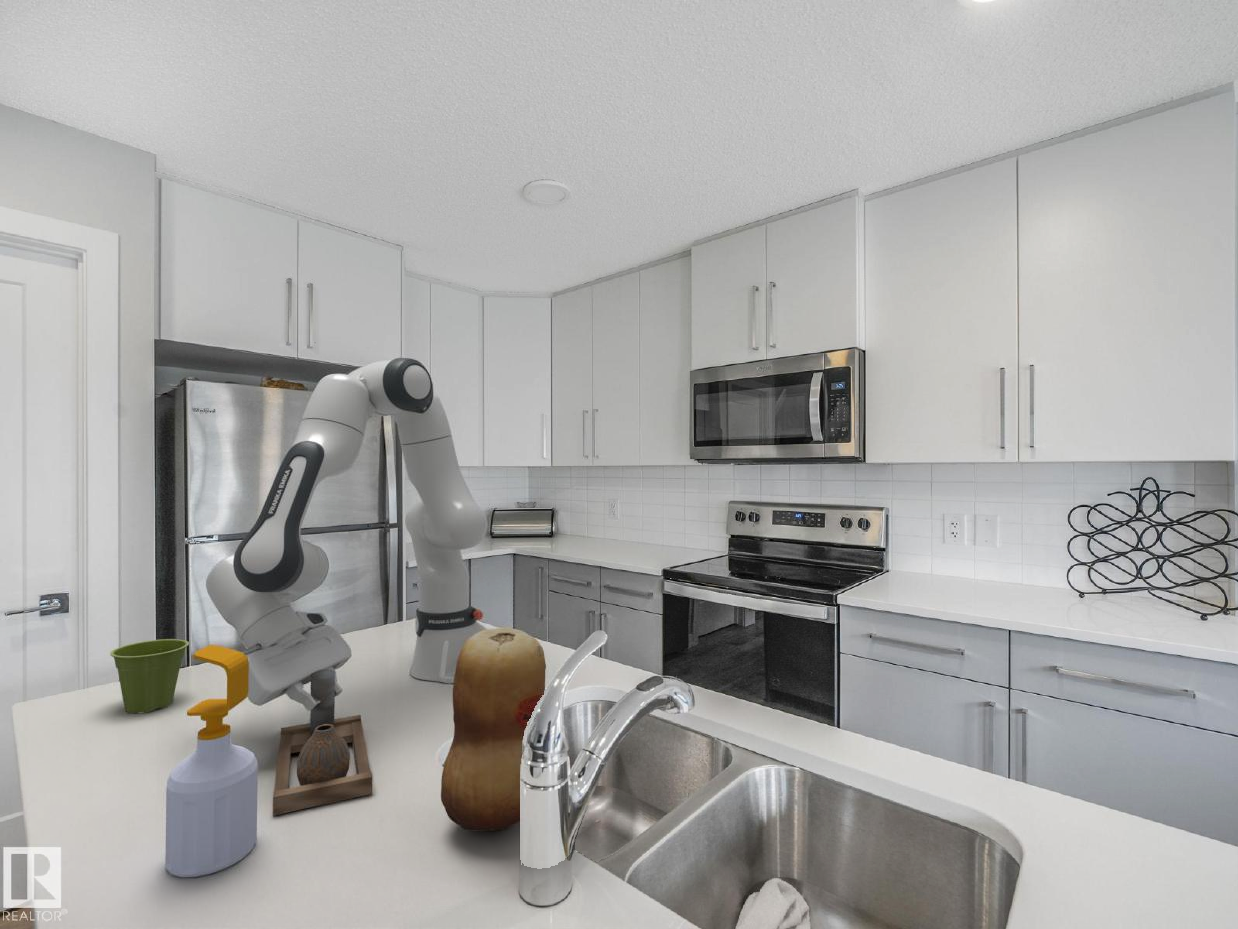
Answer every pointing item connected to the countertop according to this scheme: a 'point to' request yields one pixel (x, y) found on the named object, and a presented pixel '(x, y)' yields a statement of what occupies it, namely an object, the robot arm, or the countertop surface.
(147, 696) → the plant pot
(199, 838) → the soap bottle
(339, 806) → the countertop surface
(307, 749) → the vase
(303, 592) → the robot arm
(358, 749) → the strip frame
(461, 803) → the butternut squash
